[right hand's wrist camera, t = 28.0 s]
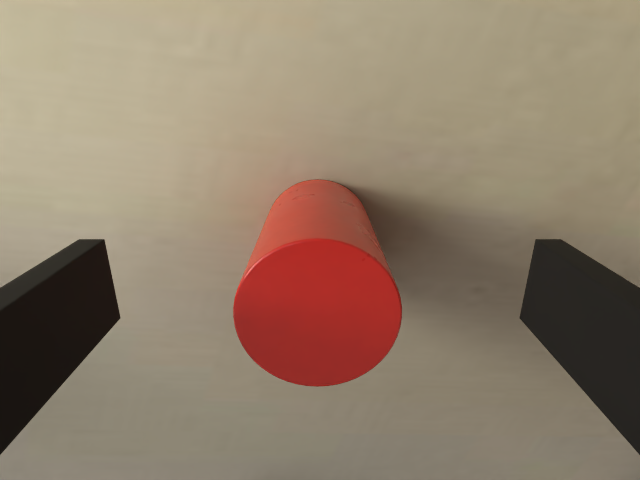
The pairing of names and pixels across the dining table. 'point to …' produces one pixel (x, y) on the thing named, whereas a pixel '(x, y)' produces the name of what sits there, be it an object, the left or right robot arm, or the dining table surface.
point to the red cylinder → (317, 290)
